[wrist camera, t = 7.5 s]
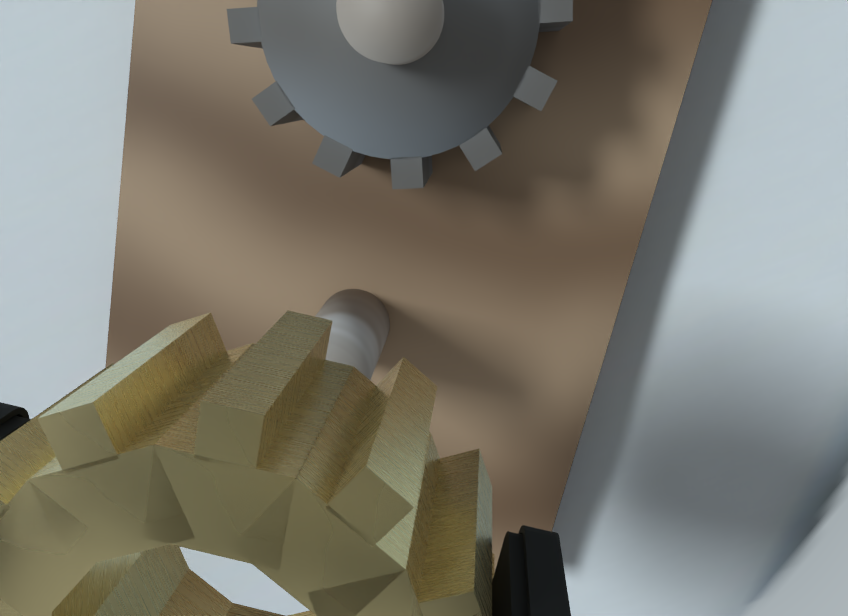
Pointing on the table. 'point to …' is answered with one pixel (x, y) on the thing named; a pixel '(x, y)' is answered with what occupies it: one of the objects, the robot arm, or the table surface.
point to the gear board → (407, 196)
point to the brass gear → (242, 486)
